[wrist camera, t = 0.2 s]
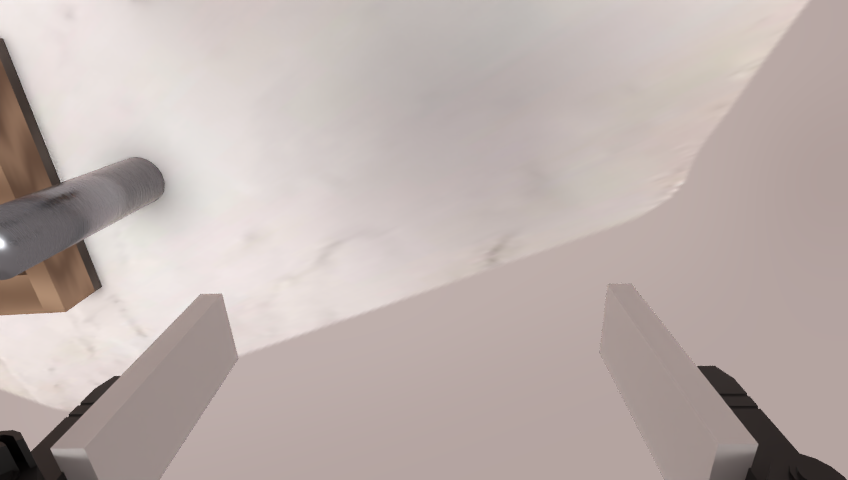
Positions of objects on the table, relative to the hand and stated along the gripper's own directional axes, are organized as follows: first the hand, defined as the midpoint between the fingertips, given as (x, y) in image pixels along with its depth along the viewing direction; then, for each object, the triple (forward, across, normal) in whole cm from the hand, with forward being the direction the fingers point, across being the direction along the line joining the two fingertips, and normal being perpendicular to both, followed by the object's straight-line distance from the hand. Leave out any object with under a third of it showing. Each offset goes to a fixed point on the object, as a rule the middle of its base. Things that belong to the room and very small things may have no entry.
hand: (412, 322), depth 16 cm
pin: (+28, -28, -2) cm, 39 cm away
